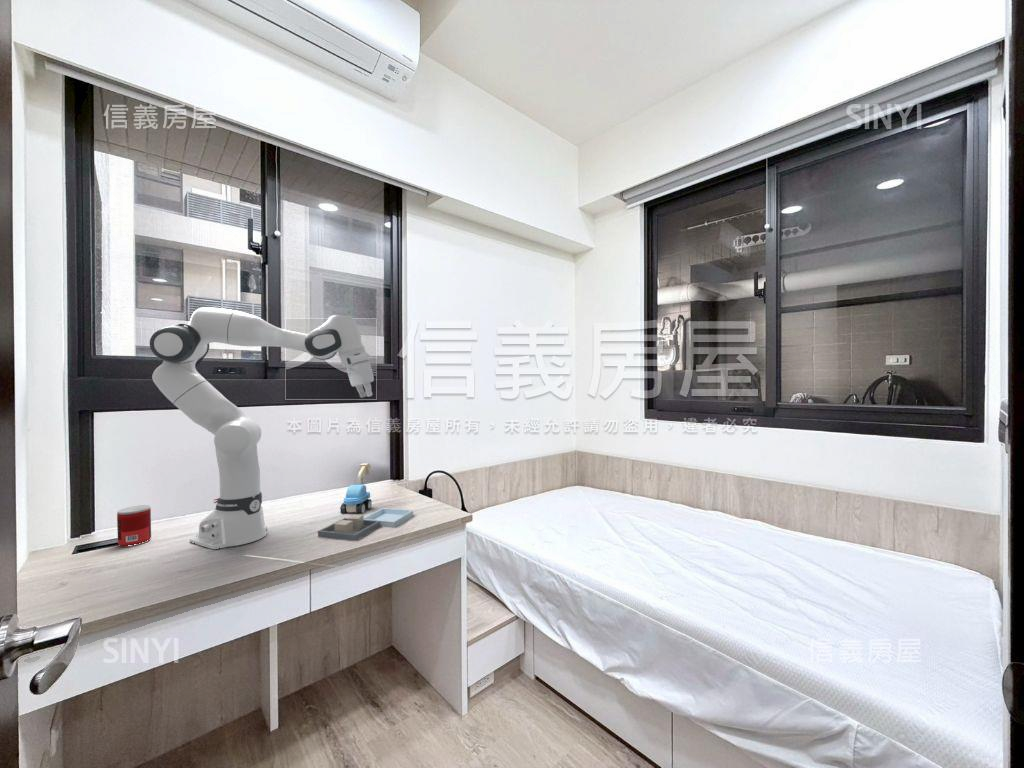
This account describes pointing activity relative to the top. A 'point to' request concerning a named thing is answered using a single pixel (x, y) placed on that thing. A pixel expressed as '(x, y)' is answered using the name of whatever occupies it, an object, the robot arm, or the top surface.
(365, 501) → the toy excavator
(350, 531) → the grey cube
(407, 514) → the blue tray
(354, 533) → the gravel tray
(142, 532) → the canned food
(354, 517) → the tan cube
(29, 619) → the top surface
